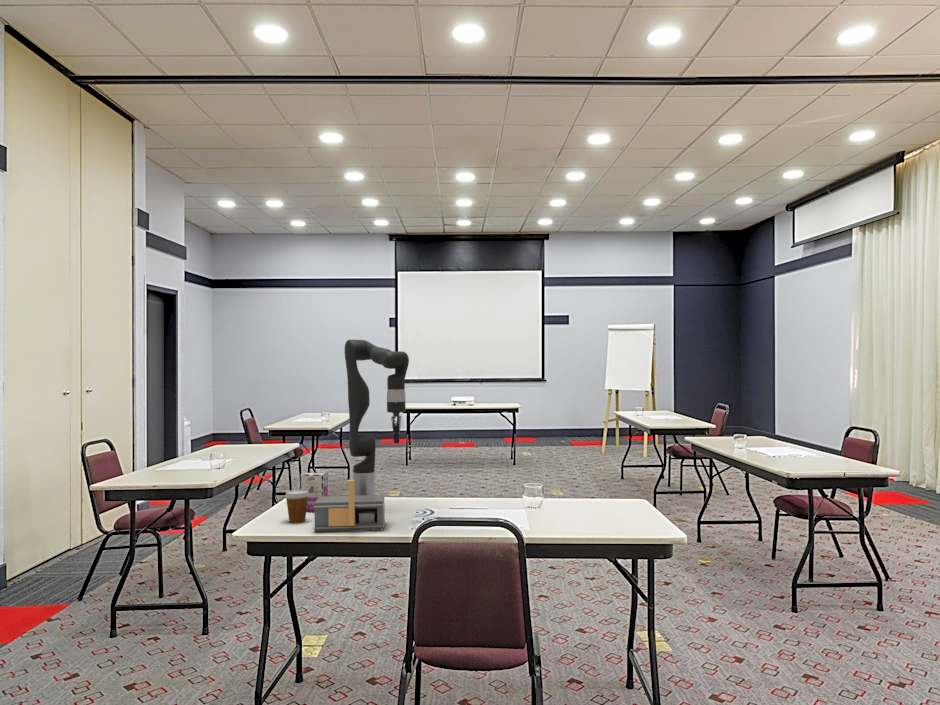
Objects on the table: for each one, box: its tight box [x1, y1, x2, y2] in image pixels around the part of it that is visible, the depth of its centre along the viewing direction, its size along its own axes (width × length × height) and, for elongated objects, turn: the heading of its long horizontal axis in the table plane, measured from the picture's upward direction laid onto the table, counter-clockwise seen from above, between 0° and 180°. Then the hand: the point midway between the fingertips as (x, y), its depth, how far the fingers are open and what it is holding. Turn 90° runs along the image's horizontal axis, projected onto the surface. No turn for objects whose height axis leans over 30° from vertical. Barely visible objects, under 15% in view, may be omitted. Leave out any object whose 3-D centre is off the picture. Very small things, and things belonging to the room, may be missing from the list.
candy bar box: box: [300, 472, 329, 513], centre depth 287 cm, size 11×5×16 cm, turn 73°
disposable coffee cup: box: [285, 489, 309, 524], centre depth 269 cm, size 10×10×12 cm
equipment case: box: [313, 494, 386, 532], centre depth 257 cm, size 14×26×11 cm, turn 94°
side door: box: [328, 479, 355, 526], centre depth 250 cm, size 4×10×18 cm, turn 94°
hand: (396, 443), depth 266 cm, fingers closed
